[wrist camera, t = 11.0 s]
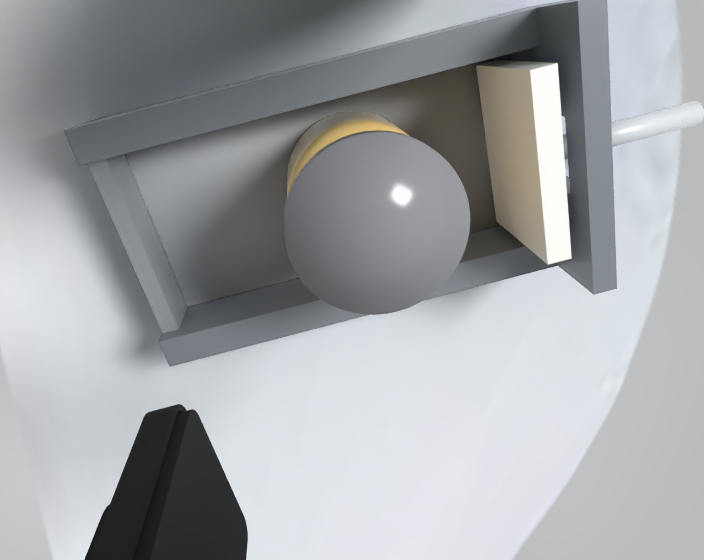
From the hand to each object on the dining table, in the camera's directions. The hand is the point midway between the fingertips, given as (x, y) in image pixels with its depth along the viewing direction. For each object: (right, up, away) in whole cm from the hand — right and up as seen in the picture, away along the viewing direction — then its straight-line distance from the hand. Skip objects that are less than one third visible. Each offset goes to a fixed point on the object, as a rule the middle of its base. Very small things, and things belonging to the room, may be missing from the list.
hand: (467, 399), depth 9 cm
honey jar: (-2, +7, +17) cm, 18 cm away
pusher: (+8, +9, +16) cm, 21 cm away
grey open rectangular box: (-3, +7, +17) cm, 18 cm away
